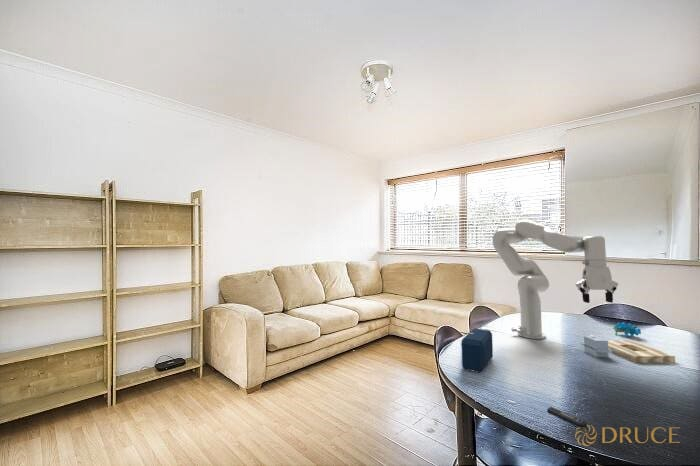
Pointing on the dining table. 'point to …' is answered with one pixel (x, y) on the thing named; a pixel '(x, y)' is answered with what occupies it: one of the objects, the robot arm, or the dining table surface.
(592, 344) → the block
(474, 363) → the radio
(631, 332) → the blue toy dinosaur
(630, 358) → the frame
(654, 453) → the dining table surface
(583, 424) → the dark grey bar
